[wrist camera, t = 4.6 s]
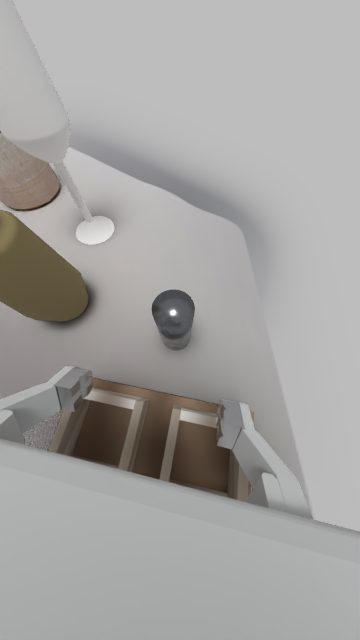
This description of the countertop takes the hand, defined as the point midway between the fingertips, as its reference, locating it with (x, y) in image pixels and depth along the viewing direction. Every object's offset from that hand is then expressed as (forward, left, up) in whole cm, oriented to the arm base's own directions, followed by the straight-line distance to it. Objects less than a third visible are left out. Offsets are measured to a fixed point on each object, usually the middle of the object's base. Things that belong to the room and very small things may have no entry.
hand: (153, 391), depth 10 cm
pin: (-5, +4, -11) cm, 12 cm away
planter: (-45, -3, -11) cm, 46 cm away
